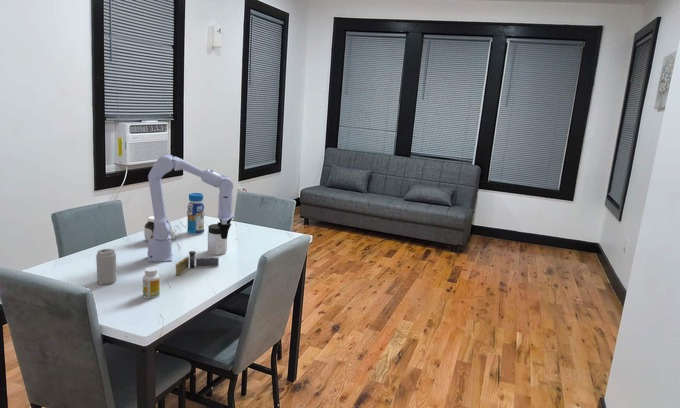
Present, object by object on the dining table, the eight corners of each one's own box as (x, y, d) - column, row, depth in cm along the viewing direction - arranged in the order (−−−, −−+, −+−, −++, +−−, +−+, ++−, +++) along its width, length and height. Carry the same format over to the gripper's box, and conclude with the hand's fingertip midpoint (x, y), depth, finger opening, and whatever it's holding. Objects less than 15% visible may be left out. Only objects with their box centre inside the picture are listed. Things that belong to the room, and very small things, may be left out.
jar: (210, 255, 213) (211, 229, 210) (204, 250, 219) (205, 224, 217) (230, 253, 218) (230, 227, 215) (223, 247, 224) (224, 223, 221)
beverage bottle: (186, 230, 246) (187, 192, 242) (204, 230, 249) (204, 192, 244) (187, 235, 238) (187, 195, 234) (204, 235, 241) (205, 196, 237)
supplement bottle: (161, 292, 172) (161, 267, 170) (156, 299, 167) (156, 272, 164) (146, 291, 172) (146, 266, 169) (140, 298, 166) (140, 271, 164)
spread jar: (141, 241, 224) (141, 217, 222) (158, 235, 235) (157, 212, 232) (163, 246, 221) (163, 221, 218) (178, 239, 231) (178, 216, 229)
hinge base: (188, 268, 196) (188, 253, 194) (188, 266, 199) (188, 250, 197) (218, 267, 199) (219, 252, 198) (218, 265, 202) (218, 250, 201)
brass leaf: (186, 267, 196) (186, 256, 195) (188, 267, 196) (188, 256, 195) (175, 275, 187) (175, 263, 186) (178, 275, 187) (178, 264, 186)
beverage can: (111, 277, 182) (110, 247, 179) (119, 282, 178) (118, 251, 175) (94, 281, 177) (92, 250, 174) (102, 286, 173) (101, 255, 170)
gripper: (234, 210, 200) (233, 241, 203) (235, 202, 214) (234, 231, 217) (216, 209, 198) (216, 241, 201) (219, 201, 212) (218, 231, 215)
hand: (224, 236), depth 209 cm, fingers open, 7 cm apart
